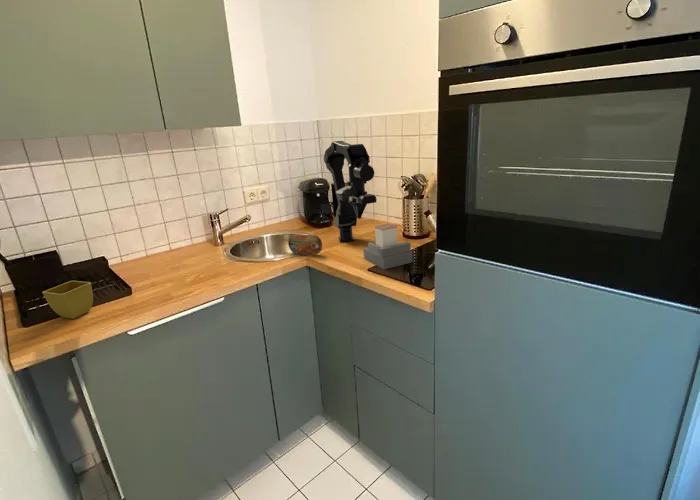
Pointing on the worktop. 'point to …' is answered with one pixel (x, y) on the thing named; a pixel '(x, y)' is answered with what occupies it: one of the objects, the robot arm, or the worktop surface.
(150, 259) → the worktop surface
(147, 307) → the worktop surface
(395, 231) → the white block
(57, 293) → the flower pot
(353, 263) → the worktop surface
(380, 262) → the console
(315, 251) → the tin
